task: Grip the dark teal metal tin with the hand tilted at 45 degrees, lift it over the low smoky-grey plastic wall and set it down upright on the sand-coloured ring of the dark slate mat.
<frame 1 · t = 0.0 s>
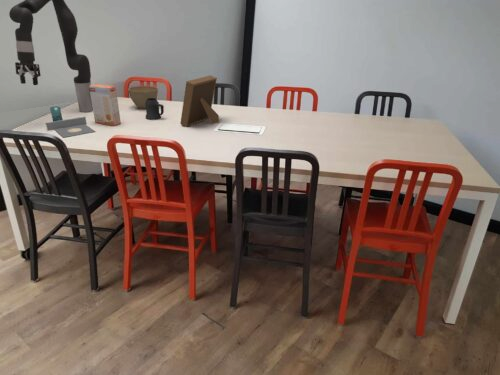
hand: (29, 84, 194), 22 cm above the table, tool pointing down, fingers open, 8 cm apart
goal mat: (74, 130, 197), on the table
photo frame: (202, 123, 214), on the table
low wall: (67, 127, 203), on the table
tin: (58, 123, 209), on the table
cracker box: (108, 123, 211), on the table
flower pot: (145, 107, 243), on the table
mug: (155, 118, 221), on the table
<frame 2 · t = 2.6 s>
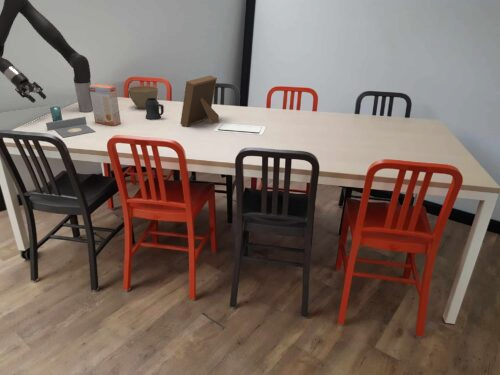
hand: (40, 99, 204), 13 cm above the table, tool tilted 45°, fingers open, 8 cm apart
nothing on the table moved.
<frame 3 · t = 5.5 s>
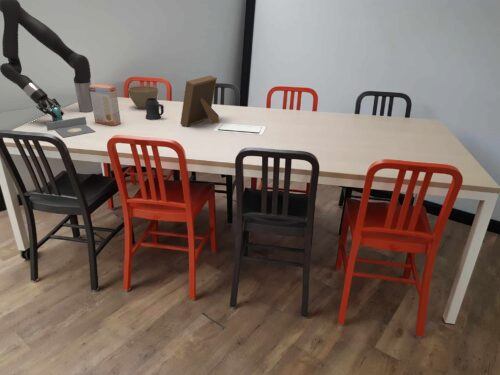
hand: (59, 116, 206), 4 cm above the table, tool tilted 45°, fingers closed on tin, 5 cm apart
tin: (58, 123, 209), on the table, touching gripper
everything else where it was.
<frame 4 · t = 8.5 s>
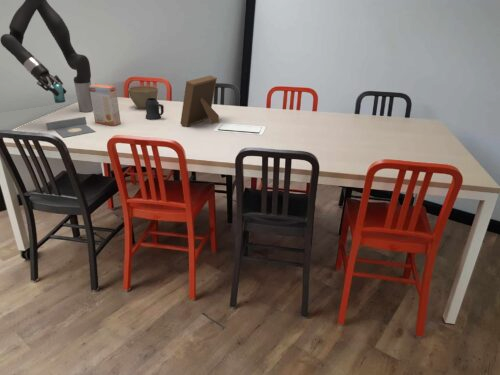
hand: (61, 93, 194), 18 cm above the table, tool tilted 45°, fingers closed on tin, 5 cm apart
tin: (60, 101, 196), point 14 cm above the table, touching gripper
everything else where it was.
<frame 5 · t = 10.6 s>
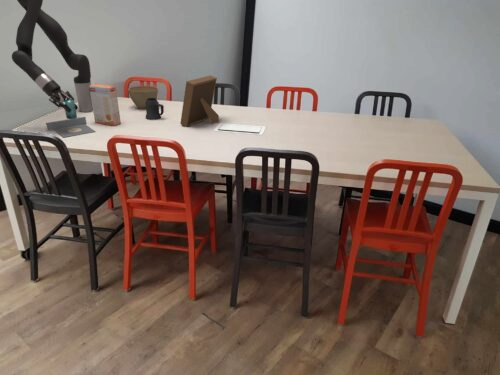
hand: (73, 110, 192), 11 cm above the table, tool tilted 45°, fingers closed on tin, 5 cm apart
tin: (71, 117, 194), point 7 cm above the table, touching gripper
everything else where it was.
when the fingers open (6 cm above the table, at t = 12.0 s): tin drops 1 cm, resting on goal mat.
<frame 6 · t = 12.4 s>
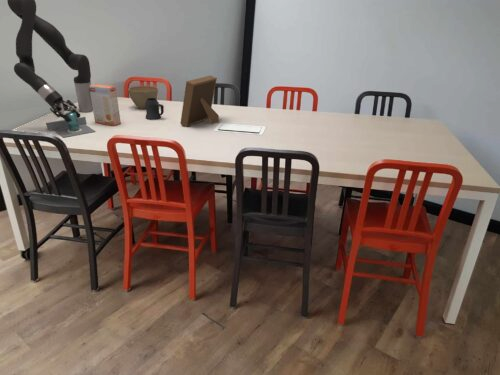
hand: (74, 118, 194), 7 cm above the table, tool tilted 45°, fingers open, 8 cm apart
tin: (74, 130, 197), resting on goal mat
everything else where it was.
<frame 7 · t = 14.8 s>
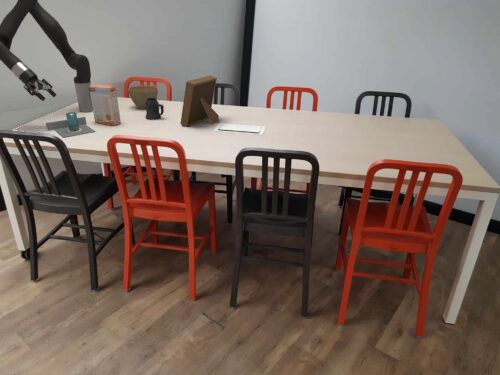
hand: (49, 97, 192), 17 cm above the table, tool tilted 45°, fingers open, 8 cm apart
nothing on the table moved.
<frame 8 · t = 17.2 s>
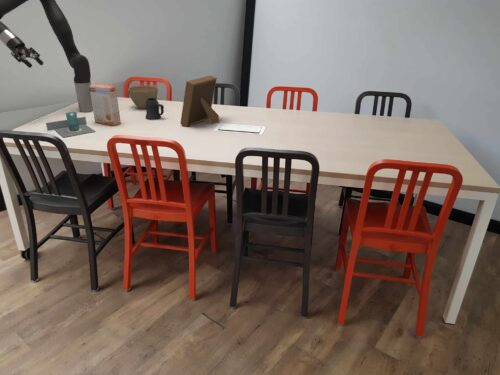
hand: (36, 65, 196), 31 cm above the table, tool tilted 45°, fingers open, 8 cm apart
nothing on the table moved.
at the end: tin inside the target area on the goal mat (0.1 cm from its centre), point 0.4 cm above the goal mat's base; tin tilted 0°; the gripper is holding nothing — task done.
